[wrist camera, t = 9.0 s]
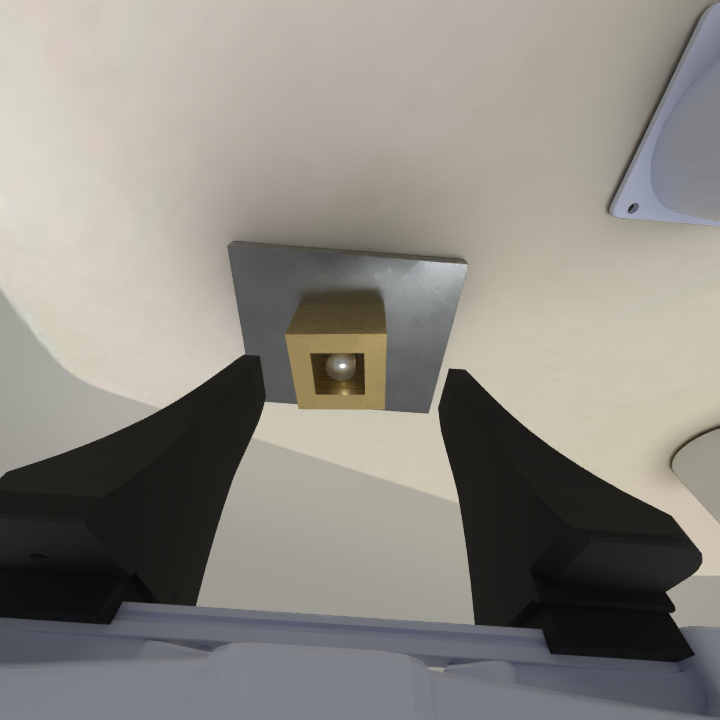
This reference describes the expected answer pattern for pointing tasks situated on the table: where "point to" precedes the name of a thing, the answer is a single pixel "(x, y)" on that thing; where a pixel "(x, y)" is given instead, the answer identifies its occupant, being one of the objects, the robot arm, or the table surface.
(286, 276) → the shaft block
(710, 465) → the pill bottle
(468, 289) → the table surface
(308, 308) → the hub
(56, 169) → the table surface
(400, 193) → the table surface
